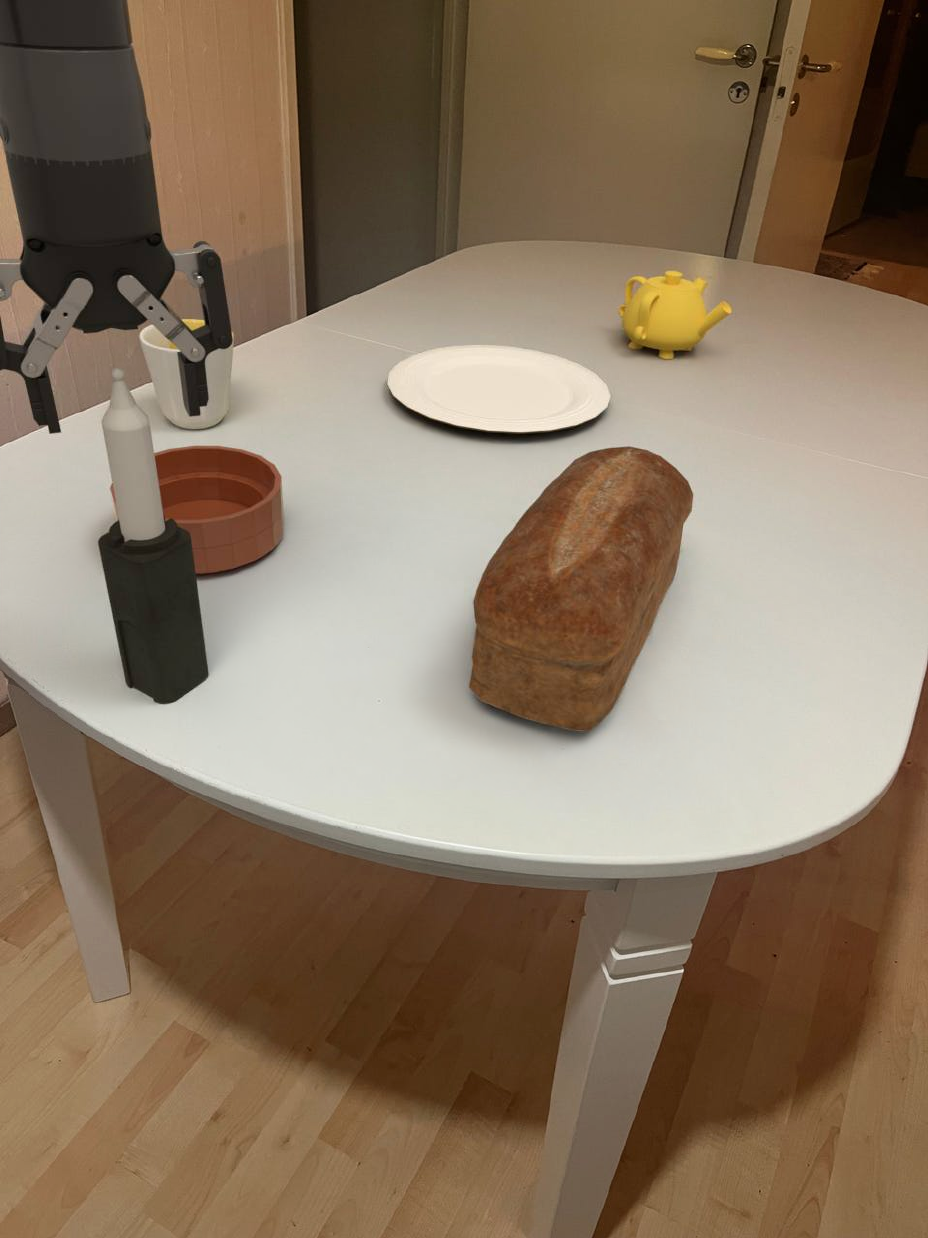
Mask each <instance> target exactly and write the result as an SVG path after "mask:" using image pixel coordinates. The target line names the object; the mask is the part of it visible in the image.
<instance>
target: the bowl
mask: <svg viewBox="0 0 928 1238" xmlns="http://www.w3.org/2000/svg"><path fill="white" fill-rule="evenodd" d="M154 456H155V462H156V469H157V476H158V483H159V489H160V496H161V503H162V510H163V515H165V521H167V520H169V519H171V518H172V519H173V520H174V521H175V522H176V523H177V526H178V527H180V528H182V529H185V530H187V531H188V532H189V533H190V535H191V541H192V549H193V556H194V564H195V572H196V575H205V574H213V573H214V574H215V573H221V572H225V571H230V570H233V569H236V568H239V567H241V566H244V565H247V564H250V563H252V562H255V561H257V560H259V559H261V558H262V557H263V556H265V555H267V554H268V553H269V552H271V551H273V550H274V549H275V548H276V547H277V545H278V544H279V542H280V541H281V540H282V538H283V537H284V533H285V532H284V531H285V511H284V510H285V509H284V495H283V493H284V492H283V479H282V478H283V477H282V474H281V473H280V471H279V470H278V468H277V467H276V465H275V464H274V463H272V462H271V461H269V460H268V459H267V458H266V457H264V456H262V455H261V454H257V453H254V452H251V451H249V450H245V449H243V448H235V447H229V446H223V445H190V446H189V445H188V446H182V447H173V448H167V449H163V450H160V451H156V452H154ZM109 490H110V497H111V502H112V508H113V512H114V513H113V514H114V518H115V522H116V521H118V520H119V516H118V511H117V505H116V500H115V494H114V489H113V483H112V482H111V485H110V487H109Z"/></svg>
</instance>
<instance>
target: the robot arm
mask: <svg viewBox="0 0 928 1238" xmlns="http://www.w3.org/2000/svg"><path fill="white" fill-rule="evenodd" d="M133 41H134V40H133V35H132V27H131V18H130V11H129V2H128V0H0V140H1V142H2V147H3V153H4V155H5V163H6V166H7V170H8V176H9V181H10V186H11V191H12V195H13V199H14V204H15V208H16V209H15V210H16V214H17V218H18V223H19V227H20V233H21V237H22V242H23V243H22V251H21V254H20V257H19V258H0V302H2V301H3V302H4V301H6V300H8V299H9V298H10V297H11V296H12V293H13V291H12V290H13V289H12V288H13V286H14V284H15V283H16V282H18V281H23V283H24V284H25V286H27V287H28V288H29V289H30V290H31V291H32V292H33V293H34V294H35V295H36V296H37V297H38V298H39V299H40V300H41V301H42V304H41V306H40V308H39V309H38V311H37V313H36V315H35V316H34V319H33V322H32V325H31V327H30V329H29V331H28V332H27V335H26V336H25V338H24V339H23V341H22V343H21V344H18V343H14V342H10V341H6V340H5V336H4V335H5V334H4V330H3V329H4V328H3V324H2V318H1V316H0V371H3V370H6V371H11V372H15V373H17V374H19V375H20V376H21V377H22V379H23V381H24V383H25V388H26V392H27V396H28V400H29V404H30V409H31V413H32V418H33V420H34V422H35V423H36V424H37V425H38V427H39V426H40V427H41V426H47V429H48V433H49V434H50V435H53V434H59V433H60V434H61V433H62V430H61V425H60V420H59V416H58V410H57V406H56V401H55V396H54V392H53V387H52V382H51V378H50V374H49V373H50V372H49V369H48V364H49V362H50V361H51V359H52V358H53V356H54V354H55V352H56V351H57V350H58V349H60V347H61V346H62V345H63V343H64V341H65V340H66V338H67V336H68V334H69V333H70V331H71V329H75V330H77V331H82V332H83V334H84V335H85V334H95V333H96V334H97V333H100V332H103V331H105V330H109V329H115V330H119V331H120V330H121V331H135V330H139V326H141V325H143V324H145V323H146V322H147V321H149V322H150V323H151V325H152V324H153V325H154V326H155V327H156V328H157V329H158V330H159V331H160V332H161V333H162V334H163V335H164V336H165V337H166V338H167V339H169V340H170V341H171V342H172V343H173V344H174V345H175V346H176V347H177V348H178V349H179V350H180V351H181V352H177V355H178V363H179V371H180V379H181V387H182V395H183V402H184V406H185V409H186V411H187V413H188V415H189V417H192V416H200V407H203V406H207V403H208V400H209V395H208V386H207V377H206V368H205V360H206V357H207V356H208V354H210V353H211V352H213V351H215V350H217V349H227V348H229V347H230V346H231V345H232V342H233V337H232V332H233V330H232V325H231V319H230V312H229V304H228V298H227V293H226V284H225V279H224V274H223V273H224V271H223V266H222V260H221V257H220V256H219V254H218V253H217V251H215V250H214V249H215V248H213V247H212V246H211V245H210V243H208V242H207V241H206V240H205V241H204V240H199V241H196V243H194V245H193V246H192V248H182V249H175V250H169V249H168V248H167V246H166V244H165V241H164V237H163V230H162V224H161V223H162V222H161V214H160V206H159V199H158V191H157V190H158V189H157V183H156V175H155V168H154V161H153V153H152V144H151V141H152V126H151V122H150V119H149V118H148V112H147V104H146V98H145V92H144V88H143V84H142V79H141V76H140V75H141V74H140V71H139V67H138V63H137V59H136V55H135V47H134V46H133V45H132V44H133ZM176 271H179V272H182V273H183V274H184V276H185V278H186V280H187V281H188V283H189V284H190V285H191V286H192V287H193V288H198V293H199V299H200V304H201V311H202V316H203V320H204V323H205V325H204V326H201V327H199V328H197V329H195V330H193V331H192V330H191V329H190V328H189V327H188V326H187V325H186V324H185V323H184V322H183V321H182V320H181V317H180V316H179V315H178V314H177V312H175V311H174V310H173V308H172V307H171V306H170V304H168V303H167V302H166V301H165V300H164V299H163V298H162V297H163V295H164V293H165V292H166V290H167V288H168V286H169V284H171V281H172V280H173V278H174V276H175V273H176ZM231 330H232V331H231Z"/></svg>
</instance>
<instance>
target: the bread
mask: <svg viewBox="0 0 928 1238" xmlns="http://www.w3.org/2000/svg"><path fill="white" fill-rule="evenodd" d="M693 502H694V492H693V489H692V487H691V485H690V483H689V480H687V478H686V477H684V475H683V474H682V473H681V472H680V471H679V470H678V468H677V467H675V466H674V465H672V464H671V463H670V462H669V461H668V460H666V459H665V458H664V457H663V456H662V455H659V454H656V453H654V452H652V451H650V450H648V449H644V448H639V447H634V446H629V445H628V446H618V447H617V446H616V447H606V448H602V449H597V450H592V451H589V452H587V453H585V454H583V455H581V456H579V457H577V458H575V459H574V460H573V461H572V462H571V463H570V464H569V465H568V466H567V467H566V468H565V469H564V470H563V471H562V472H561V473H560V475H558V476H557V477H555V478H554V479H553V480H552V481H551V482H550V483H549V484H548V485H547V486H546V487H545V488H544V490H543V491H542V492H541V493H540V495H539V496H538V497H537V498H536V499H535V501H534V502H532V504H531V505H530V506H529V507H528V508H527V509H526V510H525V512H524V513H522V515H521V517H520V518H519V520H518V521H517V522H516V523H515V525H514V527H513V528H512V529H511V530H510V531H509V533H508V534H507V535H506V536H505V537H504V539H503V541H502V542H501V543H500V545H499V546H498V548H497V550H496V551H495V552H494V554H493V555H492V557H491V558H490V560H489V561H488V562H487V565H486V567H485V569H484V570H483V573H482V575H481V578H480V580H479V582H478V585H477V588H476V590H475V594H474V597H473V601H472V604H473V614H474V616H473V617H474V621H475V630H474V631H475V632H474V638H473V645H472V651H471V661H472V666H471V672H470V677H469V684H468V688H469V689H470V690H471V691H472V692H473V694H474V695H475V696H476V697H477V698H478V699H479V701H481V702H483V703H485V704H487V705H490V706H493V707H495V708H497V709H500V710H502V711H506V712H508V713H510V714H513V715H515V716H517V717H520V718H523V719H525V720H530V721H532V722H533V721H534V722H537V723H539V724H544V725H547V726H550V727H555V728H560V729H565V730H570V731H578V732H589V731H591V730H593V729H594V728H595V727H597V725H599V724H600V723H602V722H603V721H604V719H605V718H606V717H607V716H608V715H609V714H610V713H611V711H612V710H613V708H614V707H615V705H616V703H617V702H618V700H619V699H620V696H621V694H622V692H623V690H624V688H625V685H626V683H627V681H628V678H629V676H630V673H631V671H632V669H633V667H634V665H635V663H636V661H637V659H638V657H639V655H640V653H641V651H642V649H643V647H644V645H645V642H646V640H647V638H648V636H649V634H650V633H651V631H652V628H653V625H654V623H655V619H656V617H657V614H658V612H659V609H660V606H661V605H662V603H663V600H664V598H665V596H666V594H667V592H668V590H669V589H670V587H671V585H672V583H673V582H674V579H675V576H676V572H677V568H678V563H679V557H680V553H681V547H682V546H681V545H682V539H683V537H682V536H683V530H684V525H685V523H686V521H687V519H688V518H689V516H690V514H691V513H692V511H693Z"/></svg>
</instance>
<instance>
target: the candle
mask: <svg viewBox="0 0 928 1238" xmlns="http://www.w3.org/2000/svg"><path fill="white" fill-rule="evenodd" d="M110 377H111V379H112V388H111V394H110V398H109V399H110V400H109V405H108V407H107V409H106V411H105V412H104V415H103V417H102V419H101V426H102V433H103V438H104V445H105V450H106V455H107V461H108V467H109V472H110V477H111V481H112V482H111V484H112V483H113V489H114V494H115V500H116V505H117V511H118V516H119V520H118V521H116V520H115V522H113V523H112V525H111V526H109V529H108V531H107V532H106V533H104V534H103V535H101V536H100V537H99V538H98V541H97V545H98V551H99V555H100V561H101V567H102V570H103V575H104V580H105V585H106V590H107V595H108V600H109V606H110V610H111V615H112V620H113V626H114V631H115V637H116V640H117V646H118V650H119V656H120V660H121V666H122V671H123V675H124V681H125V684H126V686H127V687H129V688H130V689H133V688H134V689H136V690H137V691H139V692H141V693H143V694H144V695H146V696H149V697H150V698H152V699H153V701H154V702H155V703H158V704H170V703H174V702H176V701H177V700H179V699H180V698H182V697H183V696H185V695H186V694H188V693H189V692H190V691H193V689H195V688H196V687H197V686H199V685H200V684H202V683H203V682H205V681H206V680H207V679H208V677H209V666H208V660H207V657H208V656H207V651H206V642H205V635H204V628H203V619H202V611H201V604H200V596H199V595H200V594H199V589H198V588H199V587H198V581H197V574H196V572H195V564H194V556H193V549H192V541H191V535H190V533H189V532H188V531H187V530H185V529H182V528H180V527H178V526H177V523H176V522H175V521H174V520H173V519H172V518H171V519H169V520H167V521H165V515H163V510H162V503H161V496H160V489H159V483H158V476H157V469H156V462H155V456H154V453H155V449H154V442H153V437H152V430H151V422H150V418H149V416H148V414H147V413H146V412H145V411H144V410H143V409H142V408H141V407H140V406H139V405H138V403H136V400H135V398H134V397H133V394H132V392H131V391H130V388H129V386H128V384H127V382H126V380H125V378H126V373H125V371H124V370H123V369H122V368H120V367H115V368H113V369H112V371H111V372H110Z"/></svg>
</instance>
